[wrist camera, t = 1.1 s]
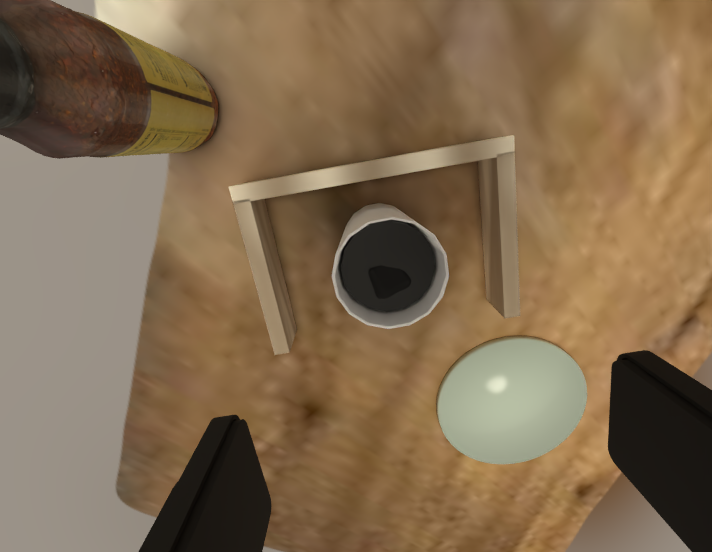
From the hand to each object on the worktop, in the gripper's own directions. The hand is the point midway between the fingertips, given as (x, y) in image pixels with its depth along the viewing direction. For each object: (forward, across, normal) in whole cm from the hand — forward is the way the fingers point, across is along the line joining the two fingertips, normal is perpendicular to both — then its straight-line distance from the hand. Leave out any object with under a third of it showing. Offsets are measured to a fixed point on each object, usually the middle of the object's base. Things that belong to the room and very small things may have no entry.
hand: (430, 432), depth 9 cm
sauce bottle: (+22, +13, -12) cm, 28 cm away
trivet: (+22, -10, +18) cm, 30 cm away
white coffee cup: (+22, 0, 0) cm, 22 cm away
